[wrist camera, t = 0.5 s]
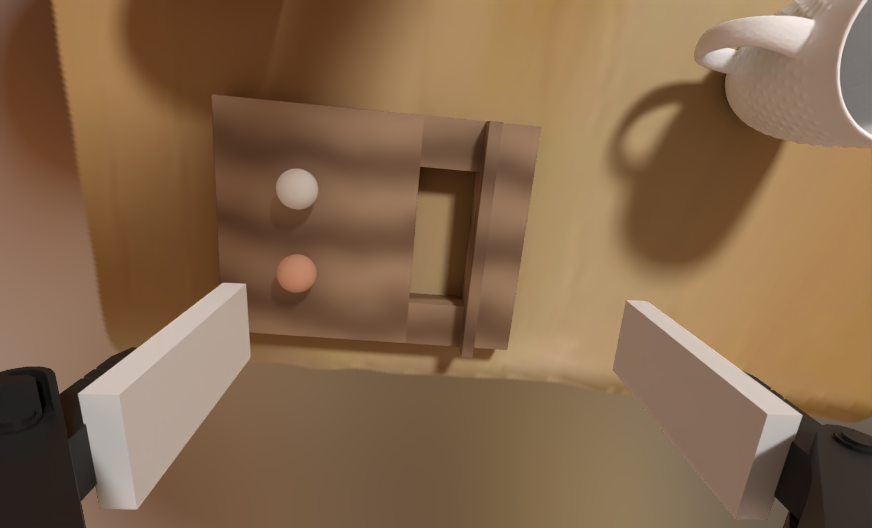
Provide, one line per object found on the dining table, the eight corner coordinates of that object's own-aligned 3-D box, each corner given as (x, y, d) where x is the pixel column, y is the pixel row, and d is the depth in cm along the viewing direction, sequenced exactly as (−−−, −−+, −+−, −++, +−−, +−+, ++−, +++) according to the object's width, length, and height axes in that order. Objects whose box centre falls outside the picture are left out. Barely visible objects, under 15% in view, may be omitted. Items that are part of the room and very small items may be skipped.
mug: (639, 121, 39) (745, 115, 26) (683, -20, 36) (826, -103, 23) (794, 155, 40) (966, 165, 28) (849, 22, 37) (1069, -35, 25)
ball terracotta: (282, 248, 38) (271, 258, 35) (320, 251, 38) (312, 261, 35) (283, 283, 39) (271, 296, 36) (320, 286, 39) (311, 299, 36)
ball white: (282, 165, 36) (270, 168, 33) (322, 168, 36) (313, 172, 33) (282, 204, 37) (270, 210, 34) (321, 207, 37) (313, 214, 34)
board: (224, 96, 37) (199, 91, 32) (533, 127, 38) (547, 127, 34) (233, 319, 42) (212, 340, 38) (502, 338, 44) (511, 360, 40)
